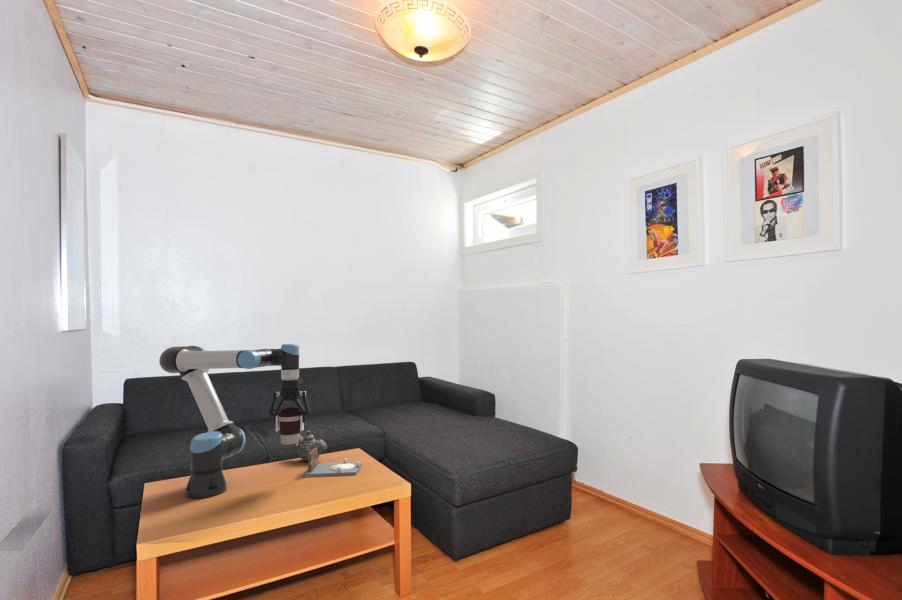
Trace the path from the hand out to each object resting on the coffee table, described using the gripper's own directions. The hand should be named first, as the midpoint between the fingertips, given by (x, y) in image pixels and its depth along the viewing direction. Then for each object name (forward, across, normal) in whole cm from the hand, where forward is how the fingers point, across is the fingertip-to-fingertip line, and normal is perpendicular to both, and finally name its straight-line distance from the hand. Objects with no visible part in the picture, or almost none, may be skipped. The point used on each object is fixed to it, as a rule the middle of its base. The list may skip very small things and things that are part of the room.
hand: (289, 430), depth 202 cm
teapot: (+22, -2, +36) cm, 42 cm away
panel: (+21, +5, +16) cm, 27 cm away
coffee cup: (+5, 0, 0) cm, 5 cm away
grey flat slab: (+22, +16, +16) cm, 31 cm away
